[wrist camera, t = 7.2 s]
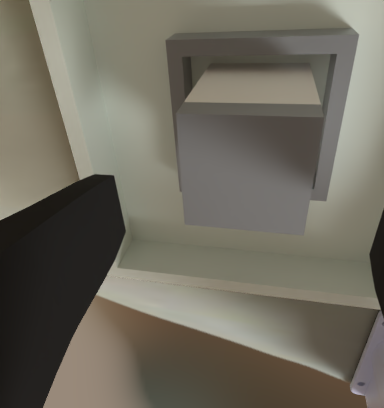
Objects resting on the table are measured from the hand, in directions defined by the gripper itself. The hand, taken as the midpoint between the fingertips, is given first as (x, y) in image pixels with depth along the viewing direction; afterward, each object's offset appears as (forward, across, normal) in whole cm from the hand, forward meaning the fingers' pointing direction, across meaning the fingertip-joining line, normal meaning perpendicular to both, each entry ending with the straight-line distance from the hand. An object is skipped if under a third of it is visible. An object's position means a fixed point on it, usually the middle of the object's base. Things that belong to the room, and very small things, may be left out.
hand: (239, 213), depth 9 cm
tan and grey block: (+8, 0, 0) cm, 8 cm away
